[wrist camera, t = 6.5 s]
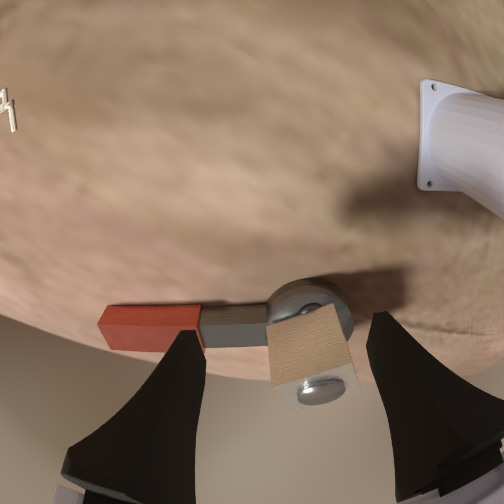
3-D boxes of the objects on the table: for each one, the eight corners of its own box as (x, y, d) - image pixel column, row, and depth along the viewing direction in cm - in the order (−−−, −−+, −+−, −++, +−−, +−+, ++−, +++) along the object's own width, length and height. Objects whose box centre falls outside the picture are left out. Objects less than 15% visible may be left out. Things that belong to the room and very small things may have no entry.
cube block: (332, 302, 19) (352, 366, 15) (346, 340, 22) (362, 396, 17) (266, 326, 20) (272, 391, 16) (289, 359, 23) (297, 415, 18)
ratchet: (350, 274, 21) (369, 316, 17) (341, 336, 25) (352, 377, 21) (99, 289, 22) (76, 326, 18) (126, 344, 26) (111, 381, 22)
